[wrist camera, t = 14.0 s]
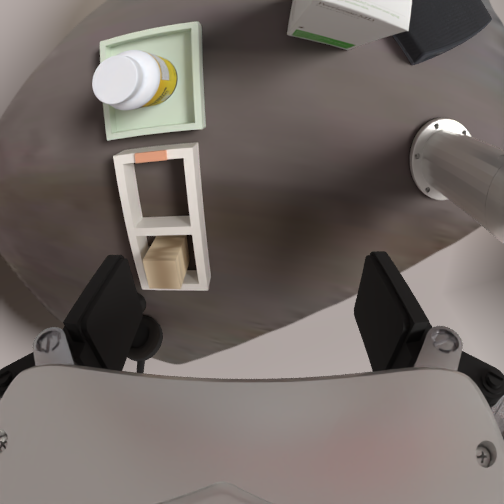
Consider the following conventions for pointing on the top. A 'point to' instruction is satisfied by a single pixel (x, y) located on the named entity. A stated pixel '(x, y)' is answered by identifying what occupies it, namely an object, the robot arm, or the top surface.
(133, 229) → the holder
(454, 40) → the external hard drive
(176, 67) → the tray
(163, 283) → the birch block
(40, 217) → the top surface
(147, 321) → the headphones
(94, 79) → the pill bottle
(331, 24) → the skincare box
